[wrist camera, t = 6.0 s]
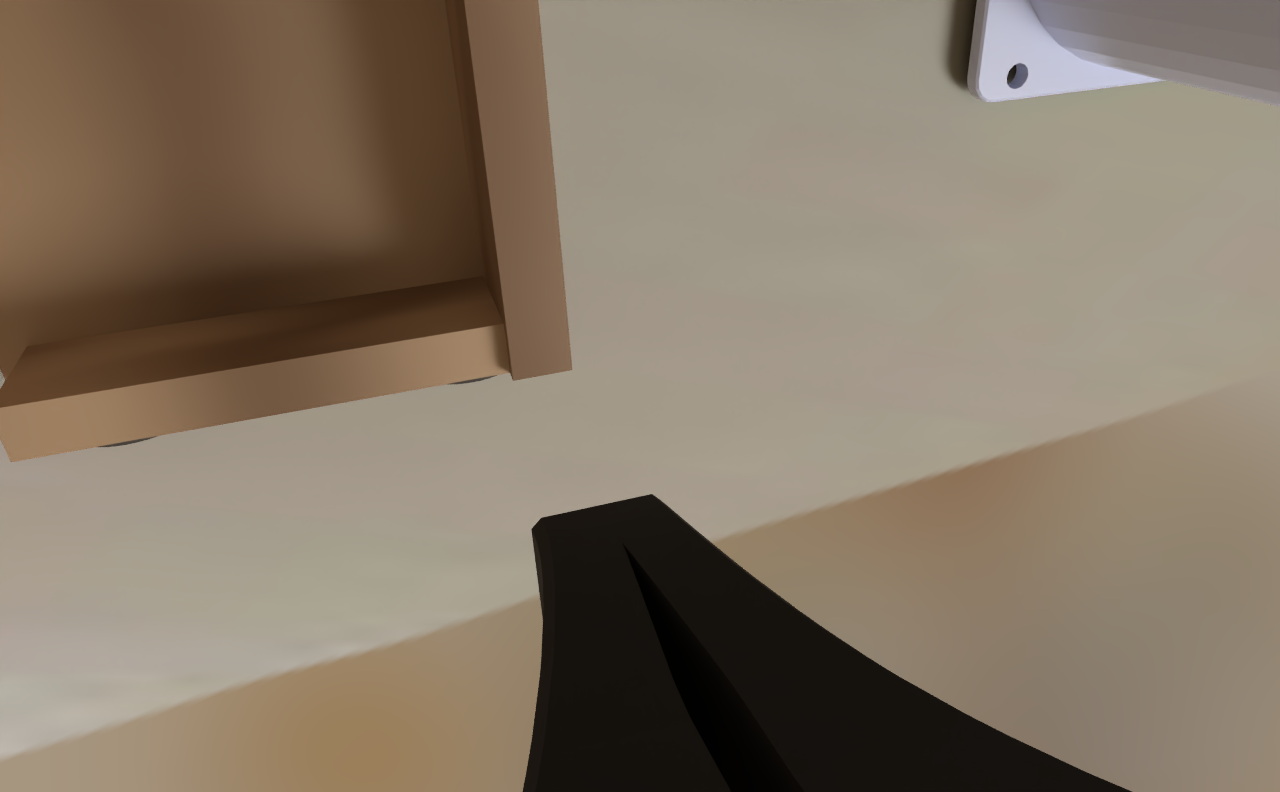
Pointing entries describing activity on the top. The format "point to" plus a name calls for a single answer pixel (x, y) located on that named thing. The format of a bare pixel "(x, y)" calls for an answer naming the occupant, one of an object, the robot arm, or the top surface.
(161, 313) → the box
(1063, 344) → the top surface
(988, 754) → the robot arm
